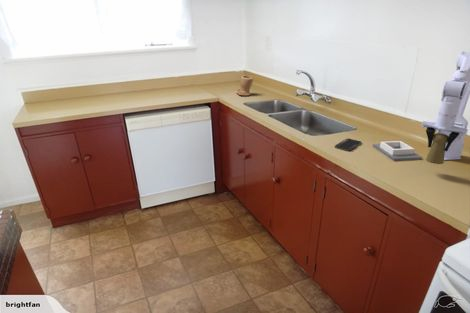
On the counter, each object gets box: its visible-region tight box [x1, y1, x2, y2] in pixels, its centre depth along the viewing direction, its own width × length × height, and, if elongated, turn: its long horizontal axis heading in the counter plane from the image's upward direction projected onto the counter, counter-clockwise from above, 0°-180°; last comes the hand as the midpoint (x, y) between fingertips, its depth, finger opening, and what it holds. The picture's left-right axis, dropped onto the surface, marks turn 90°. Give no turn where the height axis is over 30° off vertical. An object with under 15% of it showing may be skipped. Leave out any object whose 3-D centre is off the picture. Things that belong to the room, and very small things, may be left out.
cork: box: [425, 132, 449, 165], centre depth 119 cm, size 6×6×11 cm
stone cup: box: [235, 75, 254, 97], centre depth 249 cm, size 15×12×15 cm
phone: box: [334, 138, 363, 152], centre depth 150 cm, size 8×1×15 cm
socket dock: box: [372, 140, 422, 162], centre depth 142 cm, size 13×17×4 cm
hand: (437, 148), depth 120 cm, fingers closed on cork, 5 cm apart
